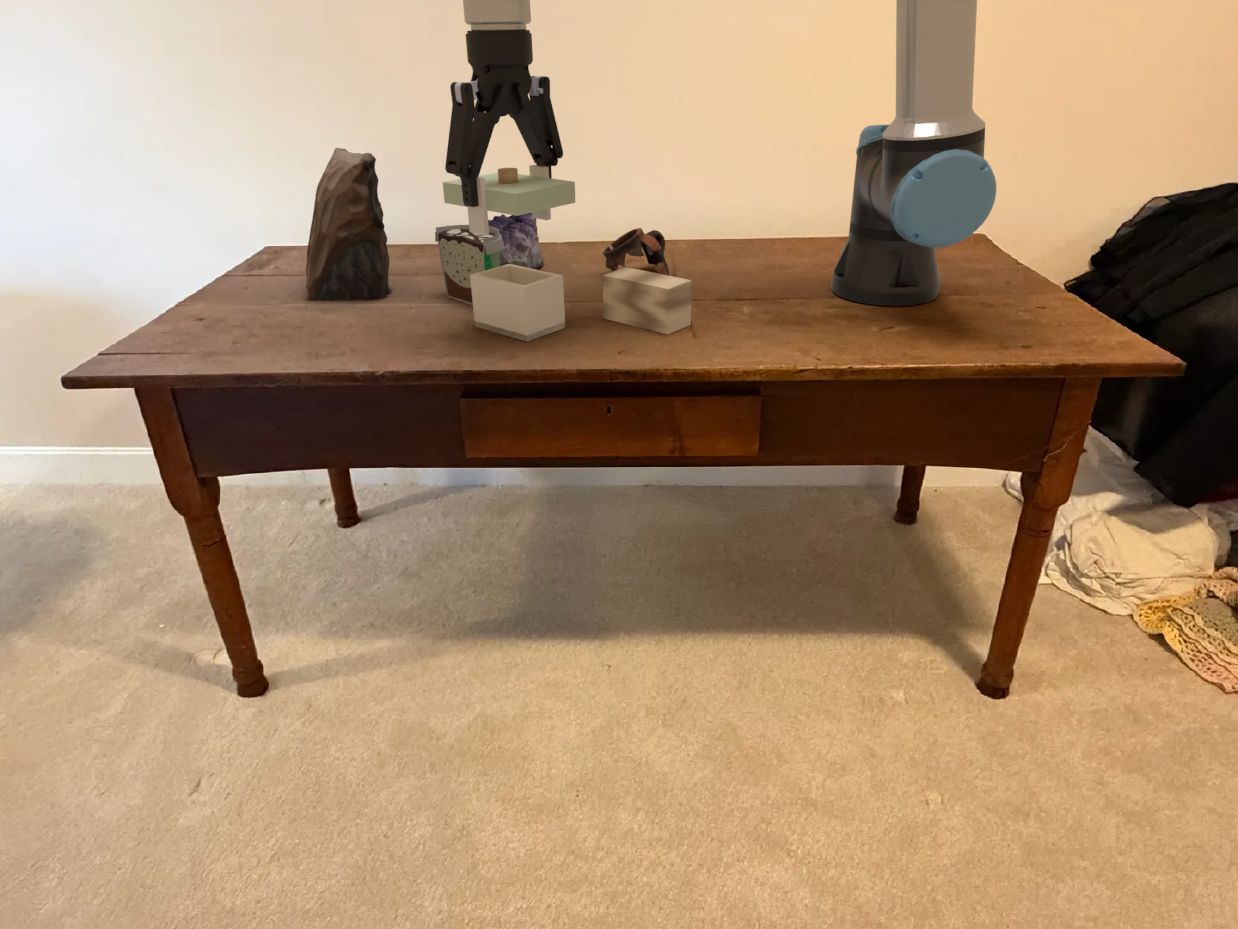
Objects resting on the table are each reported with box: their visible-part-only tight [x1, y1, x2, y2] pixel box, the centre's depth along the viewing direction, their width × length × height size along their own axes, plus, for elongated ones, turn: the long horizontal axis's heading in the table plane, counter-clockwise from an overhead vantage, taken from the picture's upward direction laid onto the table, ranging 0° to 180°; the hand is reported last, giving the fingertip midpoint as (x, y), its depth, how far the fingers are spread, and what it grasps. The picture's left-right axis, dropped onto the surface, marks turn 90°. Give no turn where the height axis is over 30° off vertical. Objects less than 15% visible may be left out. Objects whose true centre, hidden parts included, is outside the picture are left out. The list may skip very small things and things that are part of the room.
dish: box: [470, 264, 566, 343], centre depth 113 cm, size 10×7×7 cm
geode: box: [488, 213, 544, 270], centre depth 139 cm, size 20×12×10 cm, turn 172°
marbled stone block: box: [602, 266, 693, 336], centre depth 114 cm, size 11×5×6 cm, turn 50°
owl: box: [305, 147, 392, 302], centre depth 127 cm, size 13×13×20 cm
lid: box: [442, 167, 576, 216], centre depth 106 cm, size 13×10×4 cm
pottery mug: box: [602, 227, 670, 276], centre depth 137 cm, size 12×10×8 cm
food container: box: [434, 224, 504, 306], centre depth 125 cm, size 12×6×10 cm, turn 45°
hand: (511, 225), depth 109 cm, fingers closed on lid, 10 cm apart
